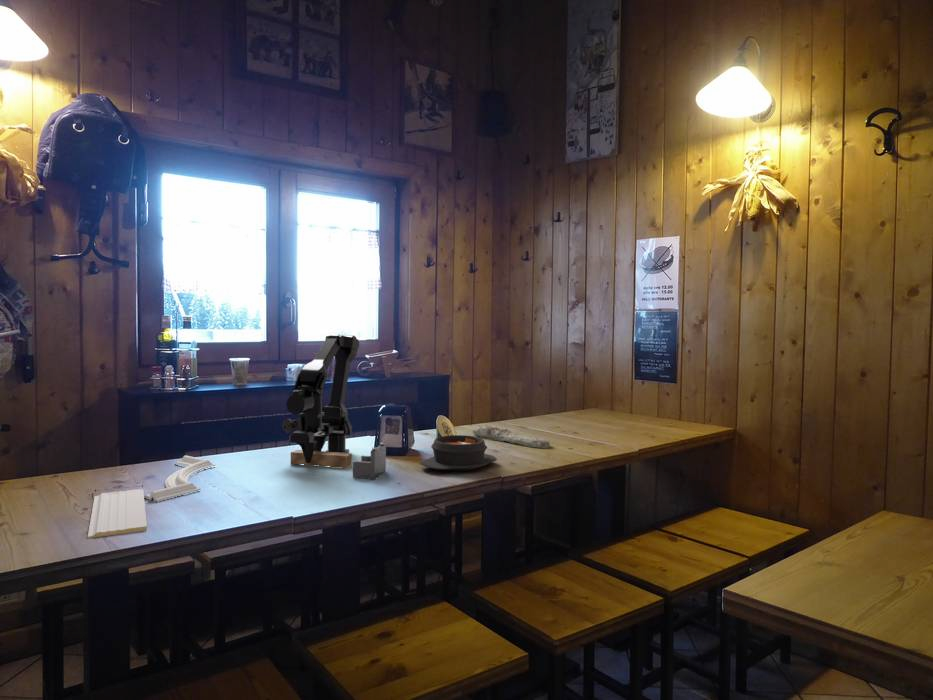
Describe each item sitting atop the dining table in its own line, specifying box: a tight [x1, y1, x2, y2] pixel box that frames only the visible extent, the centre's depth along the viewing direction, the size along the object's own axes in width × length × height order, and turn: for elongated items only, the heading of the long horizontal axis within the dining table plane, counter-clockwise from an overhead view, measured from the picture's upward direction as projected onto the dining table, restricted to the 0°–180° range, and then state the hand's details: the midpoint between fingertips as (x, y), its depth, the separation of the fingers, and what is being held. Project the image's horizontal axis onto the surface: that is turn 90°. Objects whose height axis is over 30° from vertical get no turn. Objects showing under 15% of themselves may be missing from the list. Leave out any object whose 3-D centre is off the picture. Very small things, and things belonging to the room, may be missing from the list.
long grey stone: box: [472, 425, 551, 449], centre depth 231 cm, size 35×5×10 cm
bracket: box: [352, 442, 387, 481], centre depth 178 cm, size 10×7×9 cm
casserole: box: [419, 434, 498, 472], centre depth 189 cm, size 25×19×8 cm
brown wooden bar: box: [290, 449, 353, 469], centre depth 189 cm, size 18×4×4 cm, turn 78°
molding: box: [144, 455, 216, 503], centre depth 170 cm, size 42×12×3 cm, turn 14°
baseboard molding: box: [87, 484, 148, 539], centre depth 140 cm, size 31×3×12 cm
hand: (311, 460), depth 189 cm, fingers open, 5 cm apart
